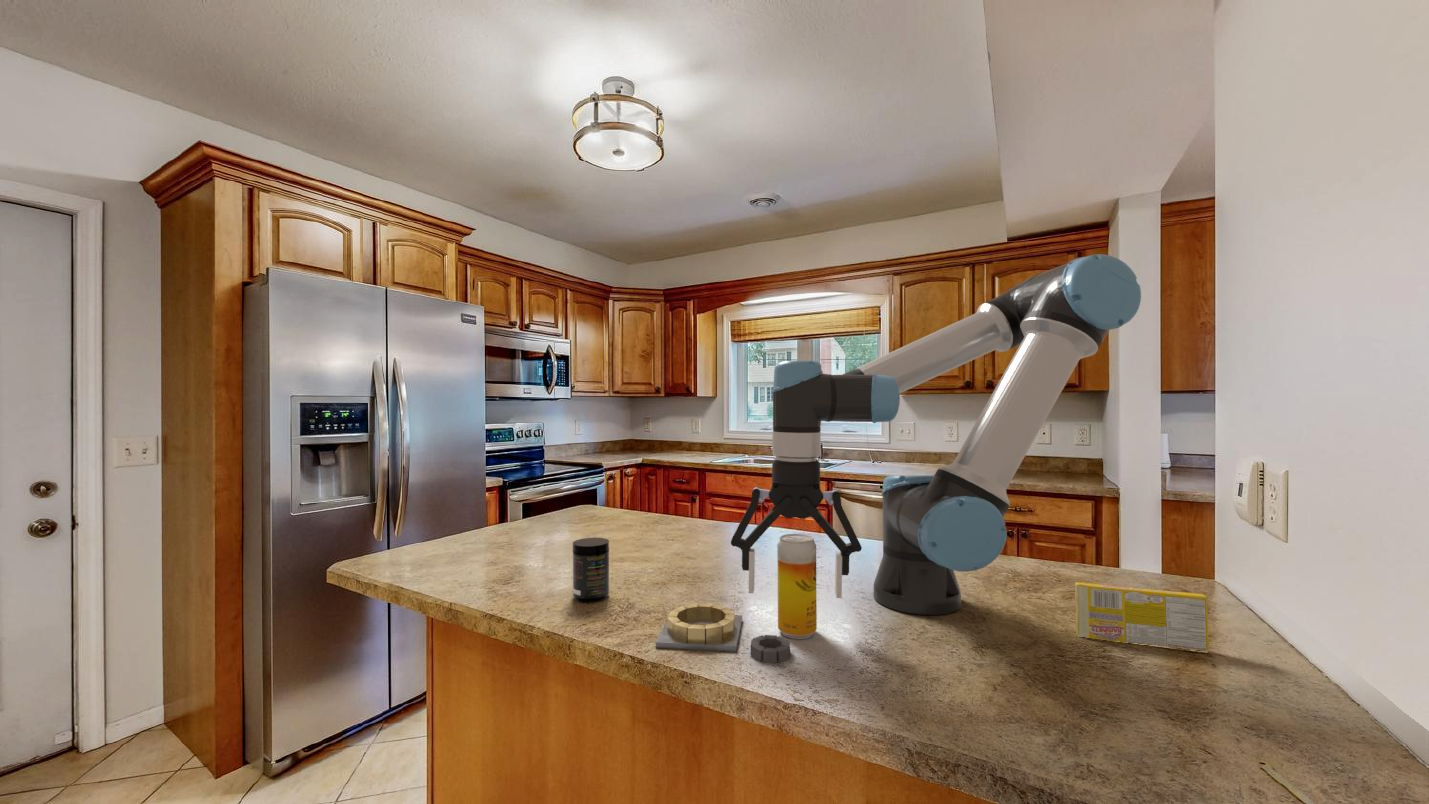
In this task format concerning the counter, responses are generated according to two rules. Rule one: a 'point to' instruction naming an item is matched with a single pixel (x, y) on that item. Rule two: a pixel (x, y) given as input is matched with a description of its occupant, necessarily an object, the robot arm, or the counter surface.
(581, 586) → the supplement container
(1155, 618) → the candy box
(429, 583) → the counter surface
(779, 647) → the ring
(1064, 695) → the counter surface
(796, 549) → the beer can
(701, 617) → the collar block
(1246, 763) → the counter surface
